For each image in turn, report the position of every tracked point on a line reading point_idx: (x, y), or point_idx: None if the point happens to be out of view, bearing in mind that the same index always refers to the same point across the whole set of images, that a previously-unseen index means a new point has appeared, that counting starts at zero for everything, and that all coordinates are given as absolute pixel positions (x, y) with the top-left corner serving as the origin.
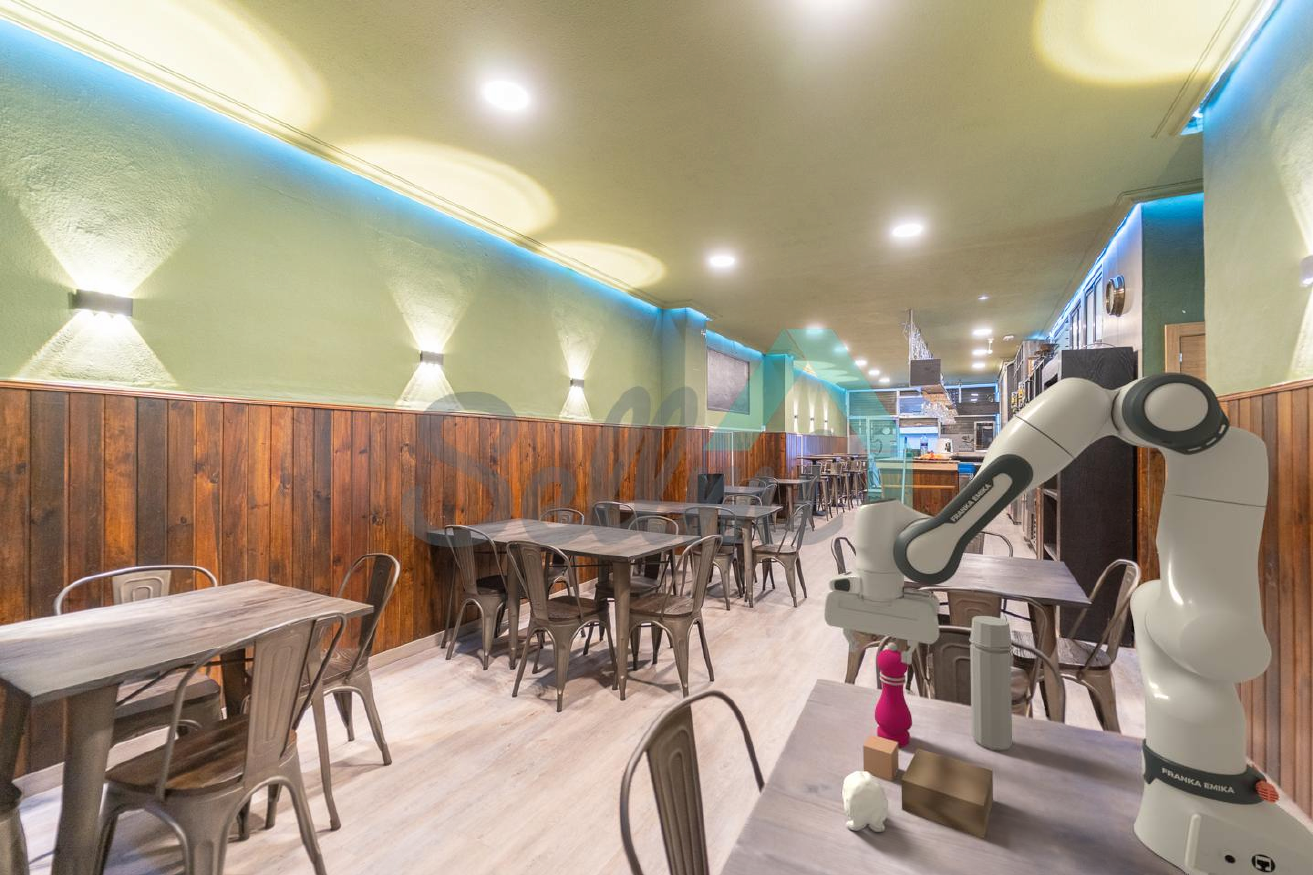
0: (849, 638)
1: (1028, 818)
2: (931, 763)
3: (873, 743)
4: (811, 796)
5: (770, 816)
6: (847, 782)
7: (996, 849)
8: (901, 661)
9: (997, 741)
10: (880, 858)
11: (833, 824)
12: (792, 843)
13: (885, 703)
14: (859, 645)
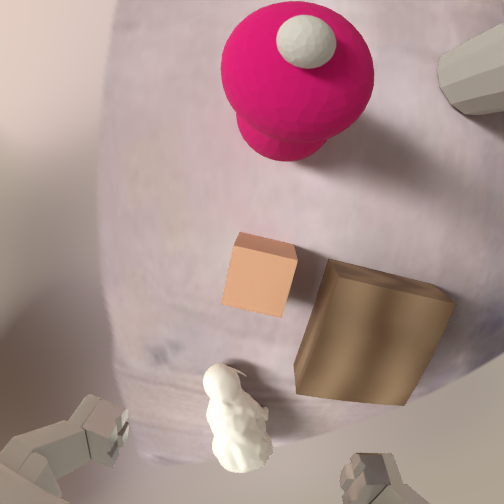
0: (66, 472)
1: (460, 311)
2: (358, 326)
3: (242, 286)
4: (163, 373)
5: (134, 415)
6: (214, 454)
7: None
8: (340, 480)
9: (479, 113)
10: None
11: (205, 414)
12: (172, 444)
13: (265, 136)
14: (116, 429)
